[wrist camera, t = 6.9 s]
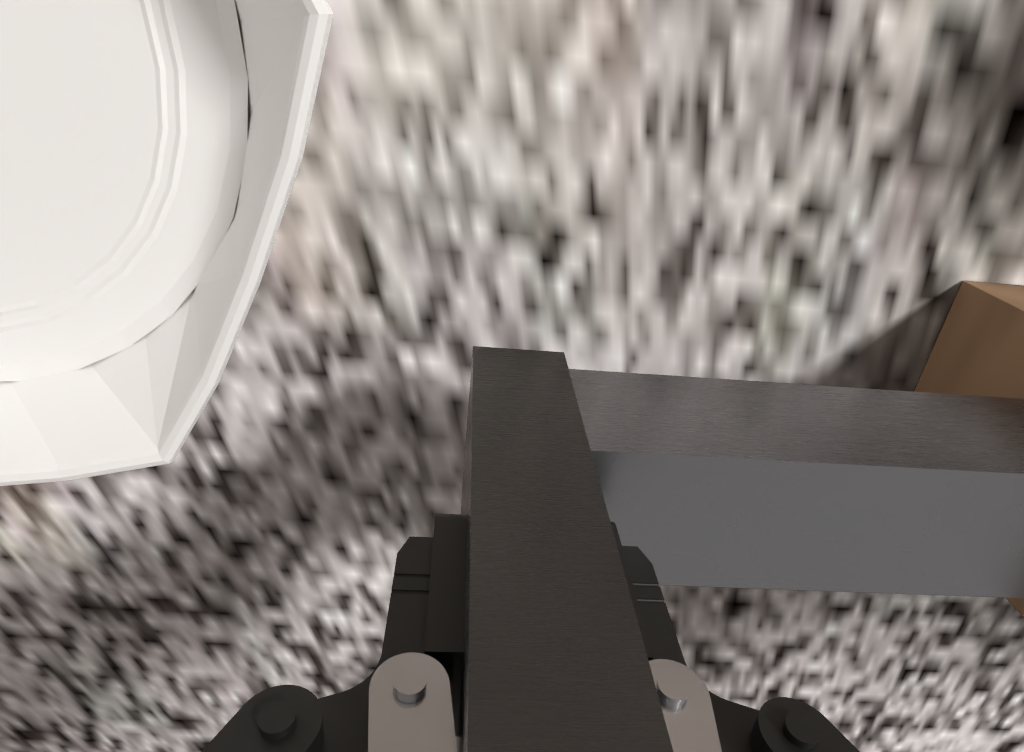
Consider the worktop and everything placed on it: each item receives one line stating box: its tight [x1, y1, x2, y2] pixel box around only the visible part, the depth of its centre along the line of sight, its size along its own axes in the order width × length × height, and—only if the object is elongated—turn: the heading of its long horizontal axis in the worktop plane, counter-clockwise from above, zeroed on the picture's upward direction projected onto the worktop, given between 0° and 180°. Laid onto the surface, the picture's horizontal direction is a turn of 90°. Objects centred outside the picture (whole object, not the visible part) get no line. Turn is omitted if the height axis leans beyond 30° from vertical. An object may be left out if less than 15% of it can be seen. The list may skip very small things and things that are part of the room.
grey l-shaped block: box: [456, 346, 1024, 752], centre depth 14 cm, size 21×5×12 cm, turn 85°
